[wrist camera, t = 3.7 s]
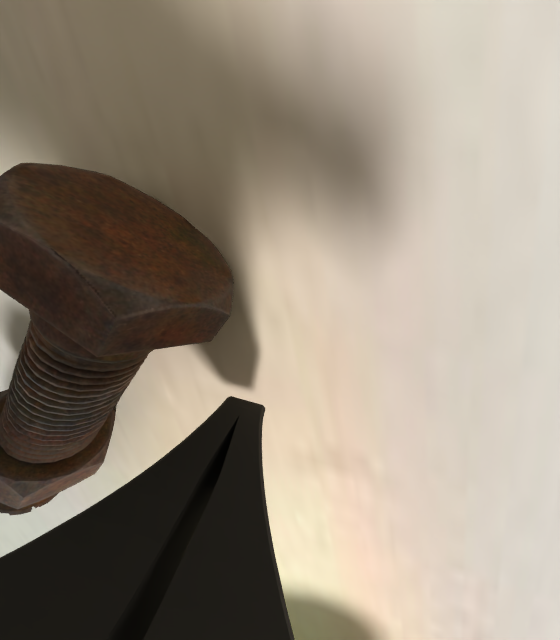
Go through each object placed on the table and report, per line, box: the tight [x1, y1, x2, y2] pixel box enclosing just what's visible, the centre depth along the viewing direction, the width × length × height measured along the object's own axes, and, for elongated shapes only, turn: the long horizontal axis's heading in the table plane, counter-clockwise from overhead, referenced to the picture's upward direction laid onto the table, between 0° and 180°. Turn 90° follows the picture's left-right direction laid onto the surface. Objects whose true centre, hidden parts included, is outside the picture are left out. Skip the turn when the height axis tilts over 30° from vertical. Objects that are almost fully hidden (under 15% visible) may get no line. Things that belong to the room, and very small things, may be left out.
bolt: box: [0, 163, 233, 515], centre depth 10 cm, size 6×5×15 cm
